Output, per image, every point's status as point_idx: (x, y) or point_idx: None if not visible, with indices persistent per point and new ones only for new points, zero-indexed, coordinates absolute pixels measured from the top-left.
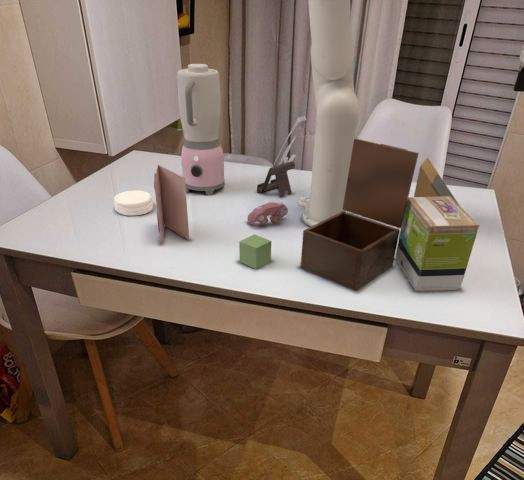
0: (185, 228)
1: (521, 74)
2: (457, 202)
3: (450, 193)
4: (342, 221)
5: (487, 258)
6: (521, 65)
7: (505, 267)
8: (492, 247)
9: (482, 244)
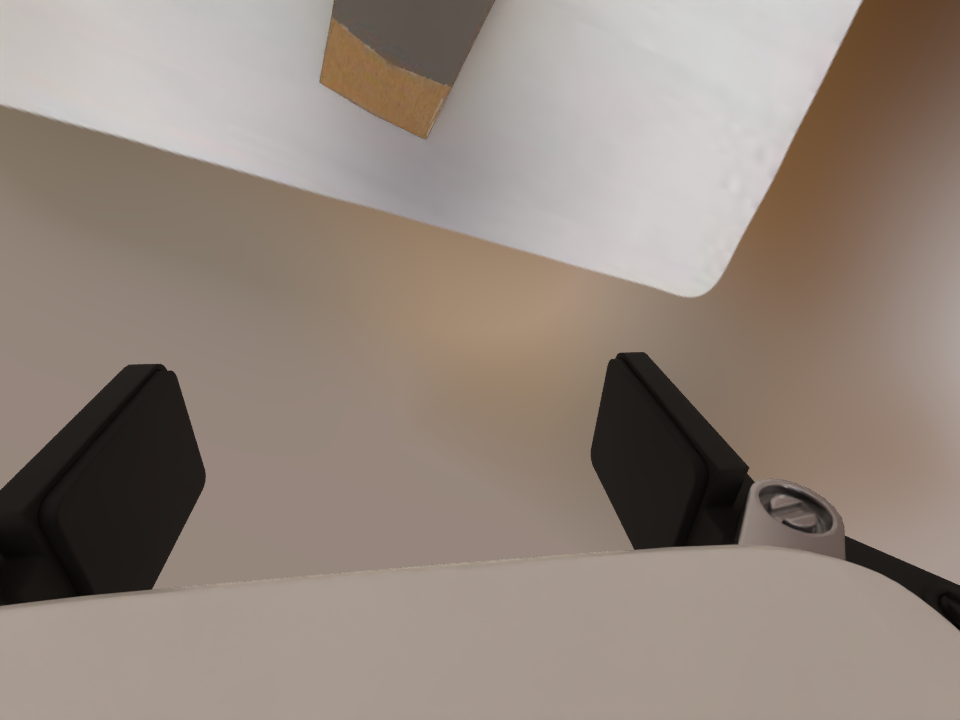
0: None
1: (679, 469)
2: (454, 61)
3: (460, 9)
4: None
5: (130, 82)
6: (804, 536)
7: (74, 122)
8: (234, 138)
9: (252, 110)
